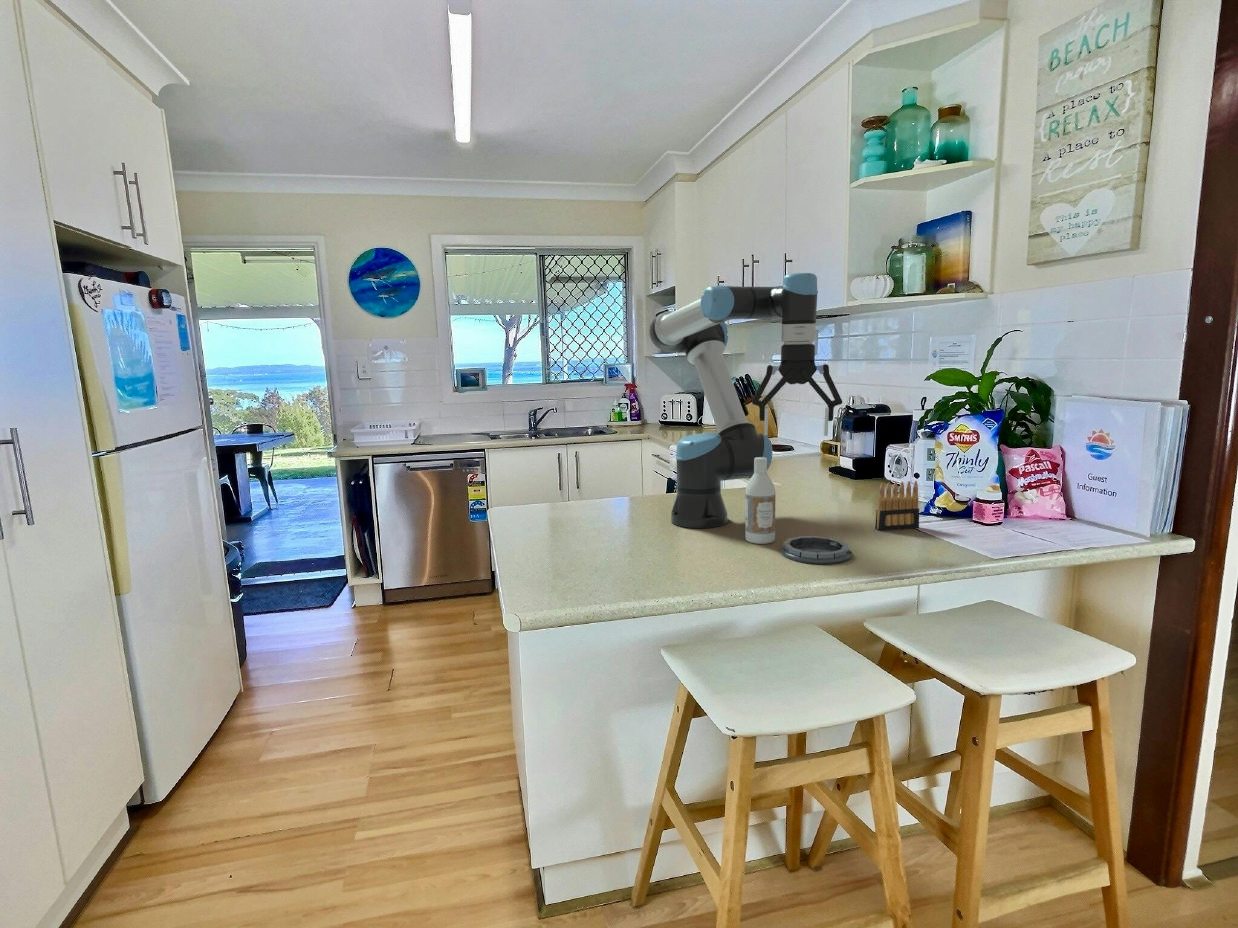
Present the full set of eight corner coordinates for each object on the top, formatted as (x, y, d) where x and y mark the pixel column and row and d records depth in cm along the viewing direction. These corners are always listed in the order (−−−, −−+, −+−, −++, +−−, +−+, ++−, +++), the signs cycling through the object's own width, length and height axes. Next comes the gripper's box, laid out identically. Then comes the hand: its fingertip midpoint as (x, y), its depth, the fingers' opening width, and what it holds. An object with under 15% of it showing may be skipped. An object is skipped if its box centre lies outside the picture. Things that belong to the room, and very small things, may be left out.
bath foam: (751, 545, 145) (751, 461, 142) (741, 537, 152) (741, 456, 149) (779, 543, 146) (780, 459, 143) (768, 535, 153) (769, 455, 149)
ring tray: (772, 558, 135) (772, 550, 135) (790, 540, 148) (790, 532, 148) (845, 568, 128) (845, 558, 127) (856, 548, 141) (856, 539, 140)
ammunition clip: (878, 531, 154) (880, 483, 152) (874, 529, 155) (876, 482, 153) (919, 528, 155) (921, 481, 153) (914, 526, 157) (917, 479, 155)
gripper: (742, 344, 142) (741, 436, 146) (858, 342, 137) (853, 437, 141) (743, 344, 149) (741, 432, 153) (852, 342, 144) (848, 432, 148)
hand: (795, 434), depth 147 cm, fingers open, 13 cm apart
